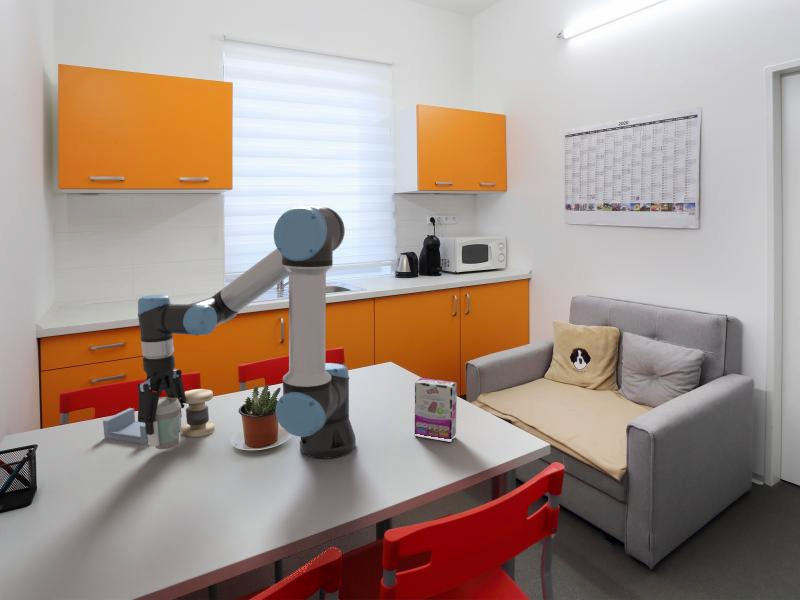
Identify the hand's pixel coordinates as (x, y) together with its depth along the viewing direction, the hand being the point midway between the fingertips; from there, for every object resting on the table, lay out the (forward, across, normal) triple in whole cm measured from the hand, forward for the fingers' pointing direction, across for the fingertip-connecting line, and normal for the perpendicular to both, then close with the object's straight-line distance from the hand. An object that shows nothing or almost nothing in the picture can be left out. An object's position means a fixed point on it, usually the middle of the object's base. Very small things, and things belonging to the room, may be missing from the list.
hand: (165, 437), depth 144 cm
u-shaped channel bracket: (+4, -7, -16) cm, 17 cm away
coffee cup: (+2, 0, 0) cm, 2 cm away
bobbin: (+4, -14, -1) cm, 15 cm away
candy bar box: (+5, -31, +66) cm, 73 cm away
